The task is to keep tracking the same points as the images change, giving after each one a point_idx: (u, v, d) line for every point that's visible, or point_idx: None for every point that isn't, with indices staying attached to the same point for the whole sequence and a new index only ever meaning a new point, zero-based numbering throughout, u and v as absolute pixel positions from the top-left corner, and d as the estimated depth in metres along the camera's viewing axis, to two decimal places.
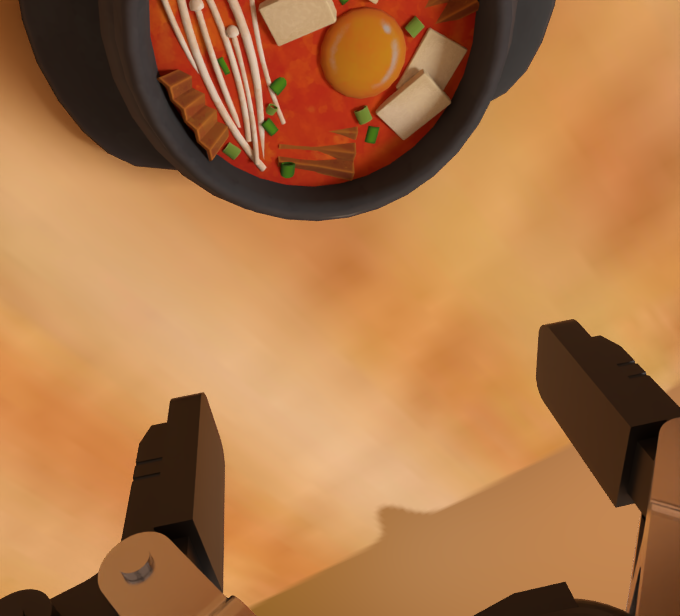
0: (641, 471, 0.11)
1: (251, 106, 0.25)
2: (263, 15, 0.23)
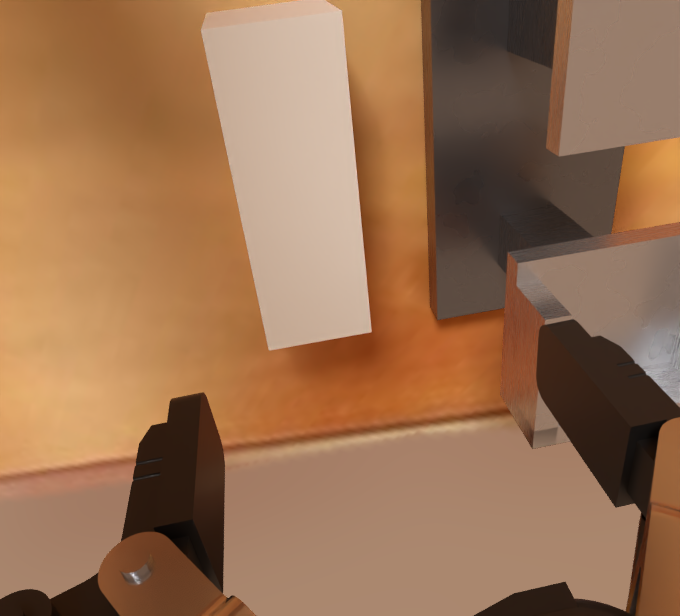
0: (641, 471, 0.11)
1: None
2: None
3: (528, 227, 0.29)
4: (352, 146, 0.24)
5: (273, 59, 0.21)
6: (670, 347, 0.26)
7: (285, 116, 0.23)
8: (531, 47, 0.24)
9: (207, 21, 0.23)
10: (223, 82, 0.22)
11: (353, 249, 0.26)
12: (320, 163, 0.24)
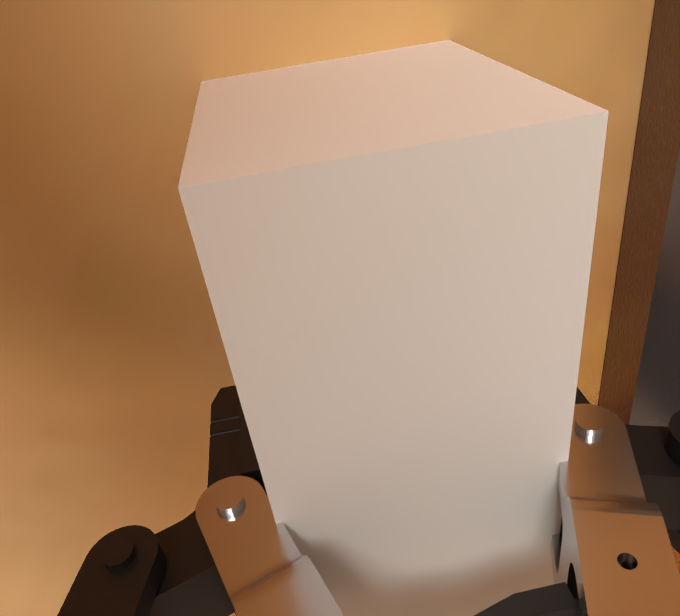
0: None
1: None
2: None
3: None
4: (567, 420, 0.09)
5: (392, 251, 0.07)
6: None
7: (412, 376, 0.08)
8: None
9: (201, 128, 0.09)
10: (248, 317, 0.08)
11: None
12: (485, 460, 0.10)
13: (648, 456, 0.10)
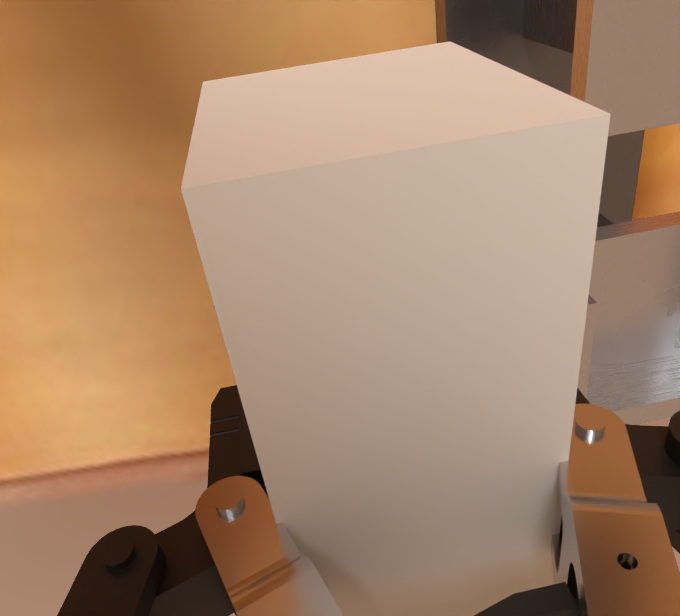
0: None
1: None
2: None
3: None
4: (568, 421, 0.09)
5: (394, 253, 0.07)
6: None
7: (413, 378, 0.09)
8: (549, 32, 0.24)
9: (203, 128, 0.09)
10: (249, 318, 0.08)
11: None
12: (485, 461, 0.10)
13: (648, 456, 0.10)
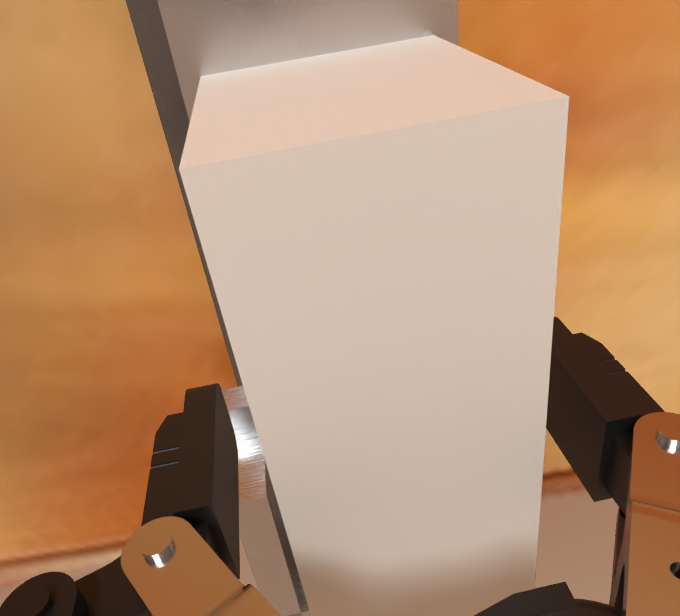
0: (618, 465, 0.11)
1: None
2: None
3: None
4: (544, 388, 0.10)
5: (375, 228, 0.08)
6: None
7: (397, 345, 0.09)
8: None
9: (200, 117, 0.09)
10: (243, 288, 0.08)
11: (516, 554, 0.13)
12: (467, 426, 0.10)
13: None
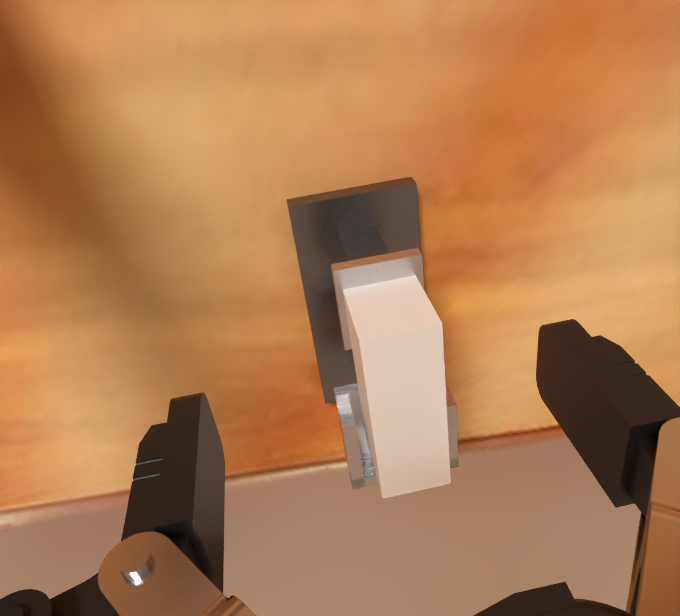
0: (641, 471, 0.11)
1: None
2: None
3: None
4: (444, 386, 0.37)
5: (399, 349, 0.35)
6: None
7: (404, 376, 0.36)
8: None
9: (354, 317, 0.36)
10: (369, 363, 0.35)
11: (441, 439, 0.40)
12: (423, 397, 0.38)
13: None
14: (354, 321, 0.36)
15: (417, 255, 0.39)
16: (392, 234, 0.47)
